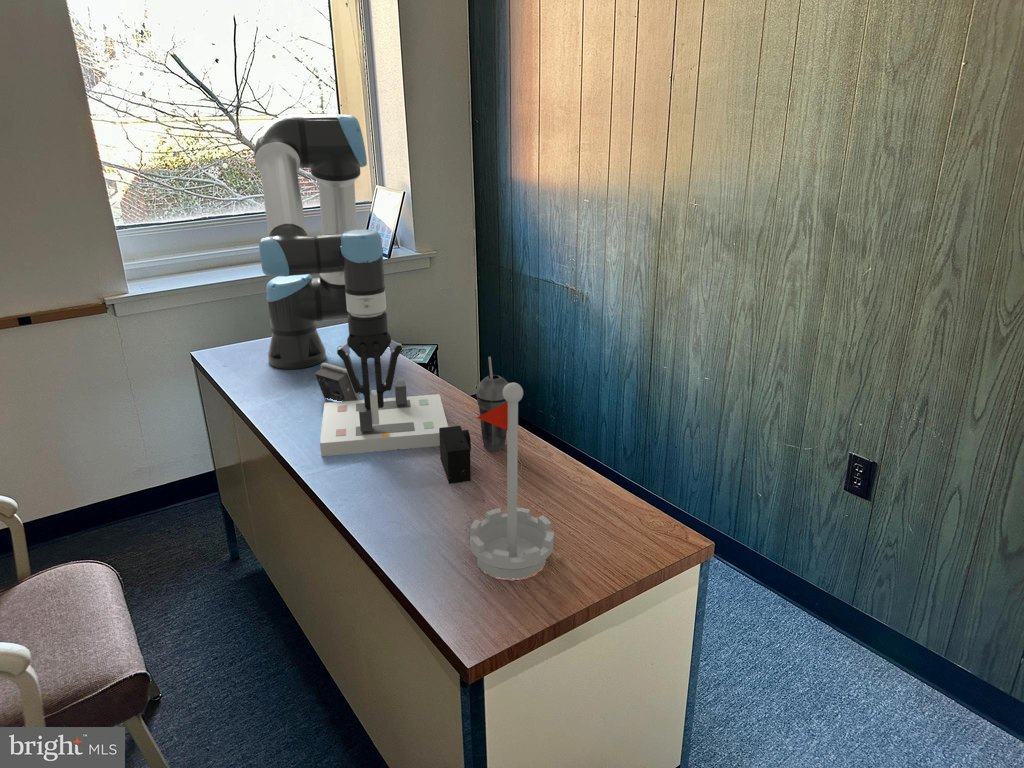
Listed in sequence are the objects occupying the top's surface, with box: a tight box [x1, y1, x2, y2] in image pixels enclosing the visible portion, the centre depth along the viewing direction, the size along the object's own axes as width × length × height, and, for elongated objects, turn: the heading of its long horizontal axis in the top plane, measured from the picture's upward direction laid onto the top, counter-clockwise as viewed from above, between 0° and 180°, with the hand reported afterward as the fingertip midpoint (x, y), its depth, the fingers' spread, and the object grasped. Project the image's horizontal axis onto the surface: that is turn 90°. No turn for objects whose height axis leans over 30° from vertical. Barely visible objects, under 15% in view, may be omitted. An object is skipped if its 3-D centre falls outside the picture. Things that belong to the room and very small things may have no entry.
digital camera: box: [439, 425, 472, 485], centre depth 134 cm, size 10×5×7 cm, turn 14°
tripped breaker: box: [359, 405, 373, 432], centre depth 143 cm, size 3×2×4 cm
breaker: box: [393, 380, 408, 405], centre depth 155 cm, size 3×2×4 cm
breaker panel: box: [319, 393, 449, 457], centre depth 151 cm, size 20×26×3 cm
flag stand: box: [469, 382, 555, 579], centre depth 104 cm, size 13×13×30 cm
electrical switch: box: [314, 362, 362, 402], centre depth 163 cm, size 9×5×9 cm, turn 57°
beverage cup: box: [475, 356, 509, 452], centre depth 141 cm, size 7×7×20 cm
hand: (375, 421), depth 144 cm, fingers closed
